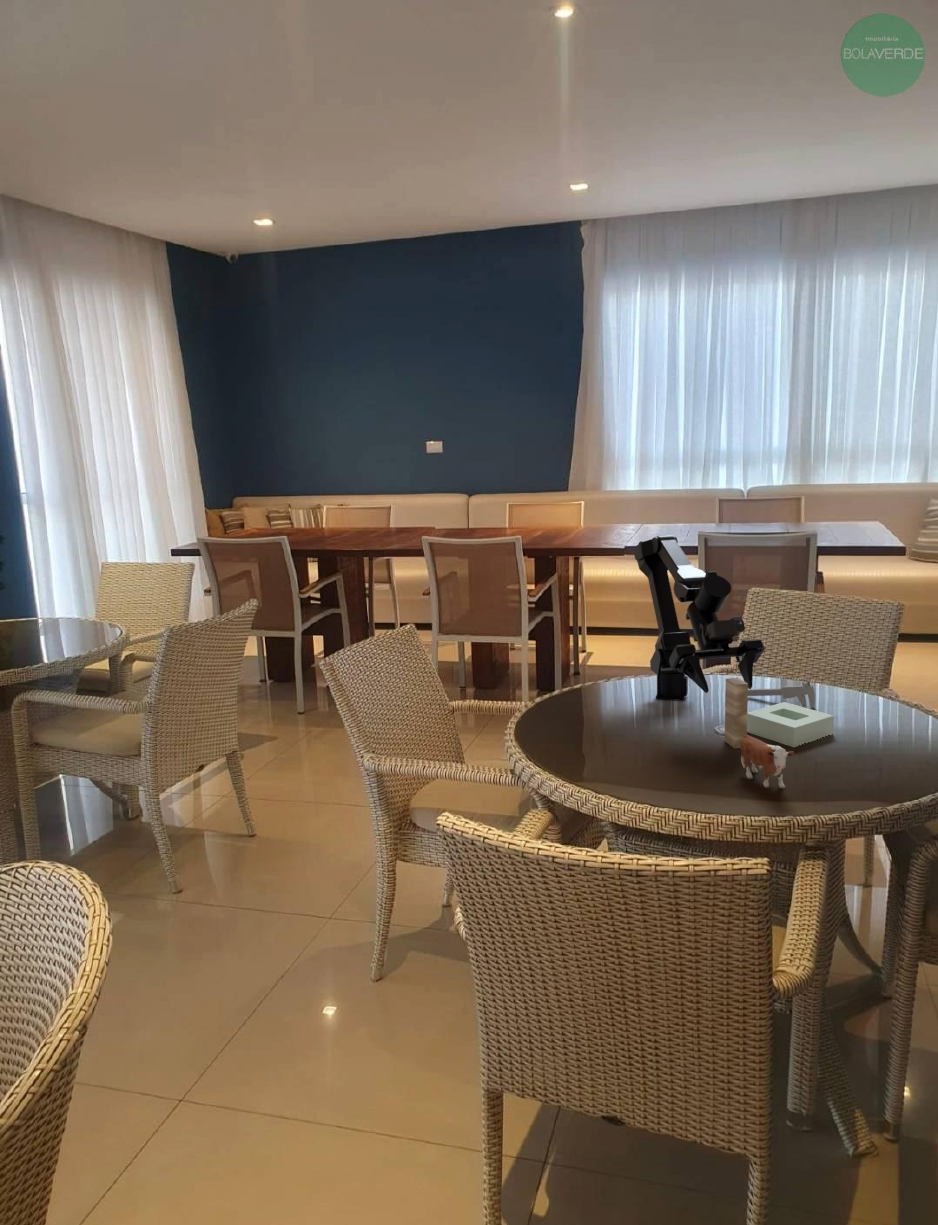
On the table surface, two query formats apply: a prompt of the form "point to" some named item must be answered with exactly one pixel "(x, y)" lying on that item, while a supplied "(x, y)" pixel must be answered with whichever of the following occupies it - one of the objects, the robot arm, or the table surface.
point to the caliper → (788, 693)
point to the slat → (735, 711)
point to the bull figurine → (763, 758)
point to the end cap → (789, 724)
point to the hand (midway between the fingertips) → (729, 689)
